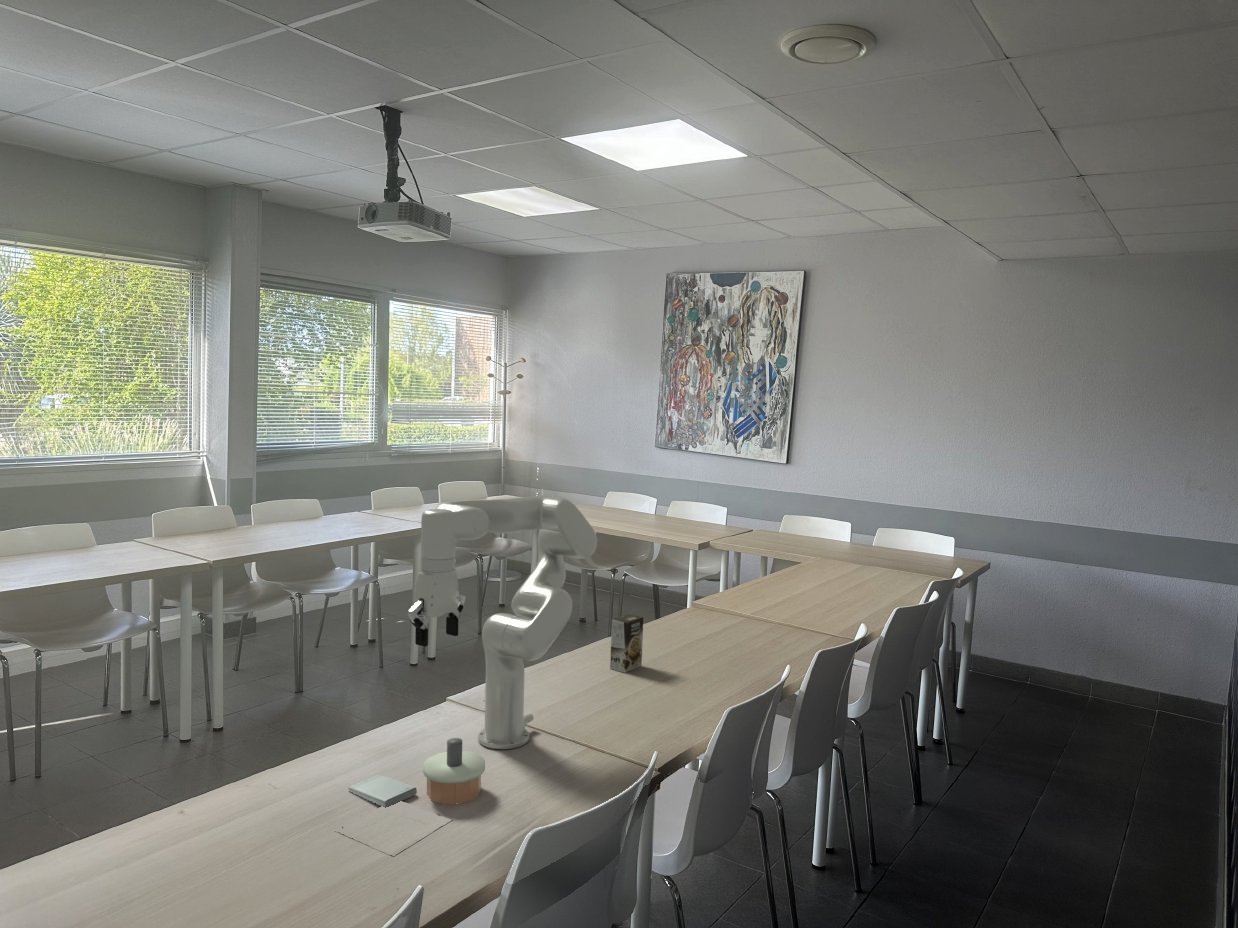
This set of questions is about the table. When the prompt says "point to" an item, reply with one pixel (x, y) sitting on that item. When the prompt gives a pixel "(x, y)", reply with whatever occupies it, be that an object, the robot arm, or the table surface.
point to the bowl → (453, 791)
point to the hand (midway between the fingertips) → (437, 639)
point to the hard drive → (383, 790)
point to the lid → (454, 764)
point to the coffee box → (626, 643)
